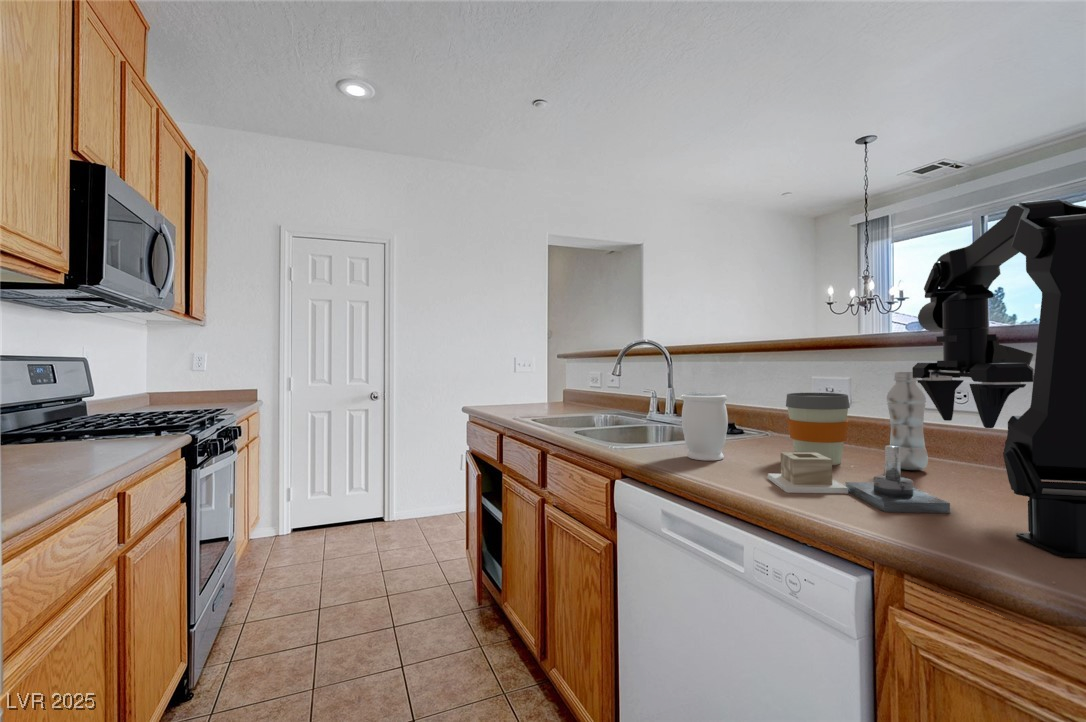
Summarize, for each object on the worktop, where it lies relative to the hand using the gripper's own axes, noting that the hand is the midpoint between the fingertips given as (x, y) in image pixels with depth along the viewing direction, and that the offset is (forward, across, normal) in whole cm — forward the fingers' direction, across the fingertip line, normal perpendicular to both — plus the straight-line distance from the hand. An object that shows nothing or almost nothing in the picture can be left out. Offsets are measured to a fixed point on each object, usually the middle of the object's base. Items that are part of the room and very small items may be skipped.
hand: (967, 424), depth 79 cm
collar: (+11, +6, +23) cm, 26 cm away
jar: (+12, +31, +36) cm, 49 cm away
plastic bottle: (+12, +20, -2) cm, 24 cm away
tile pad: (+12, +6, +23) cm, 27 cm away
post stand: (+12, -3, +13) cm, 18 cm away
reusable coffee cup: (+12, +28, +12) cm, 33 cm away
